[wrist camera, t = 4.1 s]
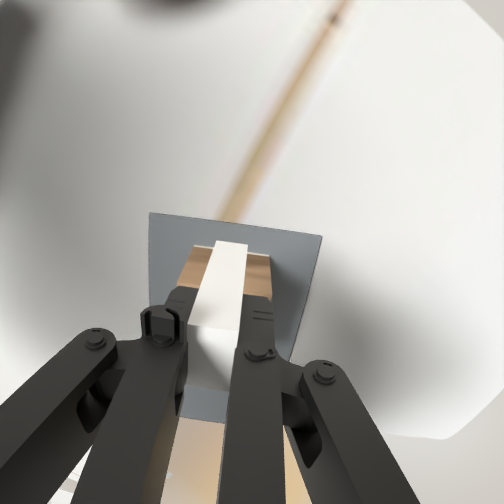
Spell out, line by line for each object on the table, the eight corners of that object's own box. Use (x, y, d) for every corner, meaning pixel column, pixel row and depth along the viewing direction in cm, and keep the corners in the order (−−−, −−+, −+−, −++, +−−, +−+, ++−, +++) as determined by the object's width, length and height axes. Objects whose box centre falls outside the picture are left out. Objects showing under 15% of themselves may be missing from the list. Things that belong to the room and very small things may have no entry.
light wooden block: (194, 244, 29) (176, 281, 22) (269, 254, 29) (272, 294, 22) (190, 306, 31) (176, 351, 25) (257, 316, 32) (257, 363, 25)
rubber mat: (150, 212, 28) (149, 213, 27) (321, 235, 28) (321, 236, 28) (159, 411, 40) (158, 412, 40) (267, 426, 40) (267, 427, 40)
